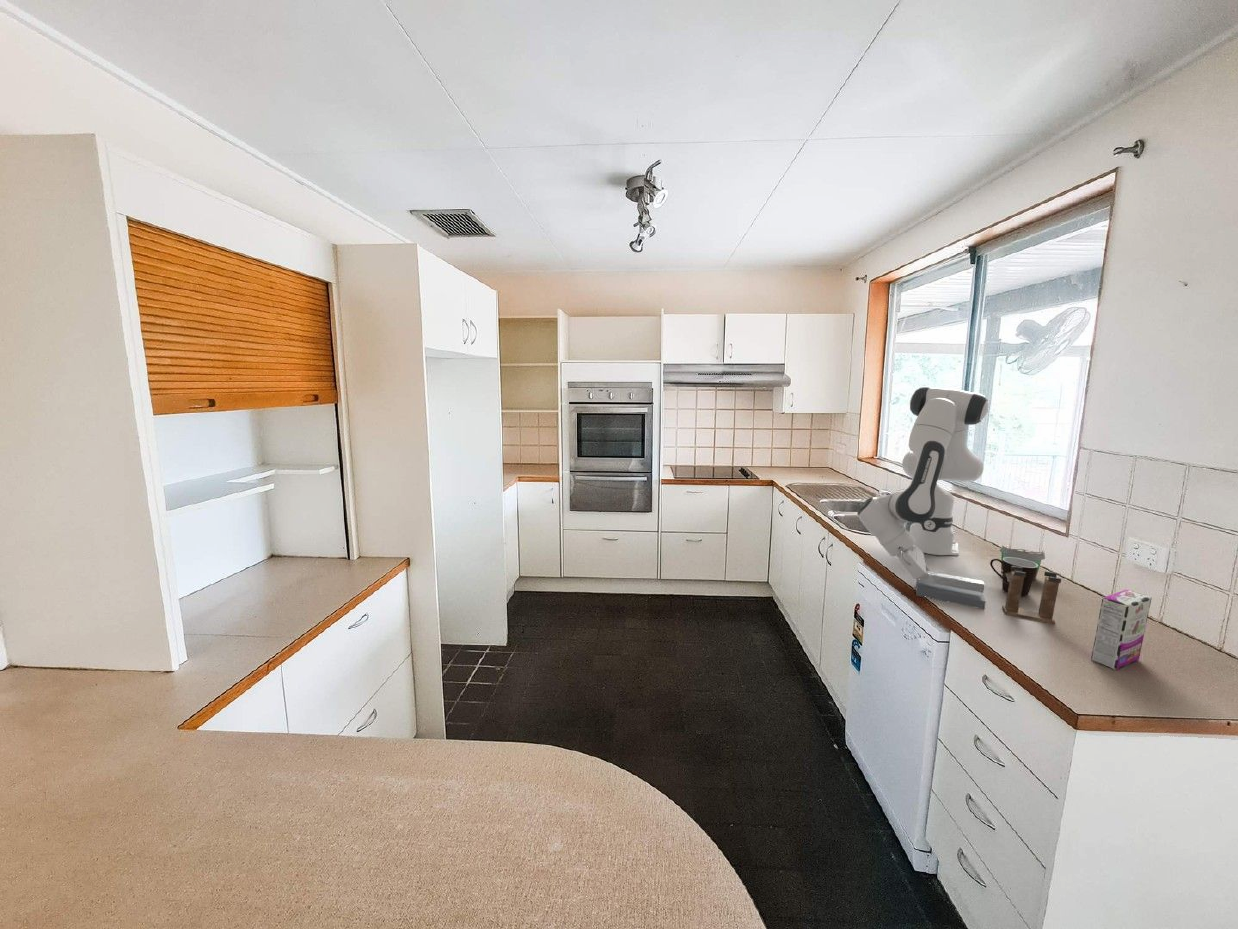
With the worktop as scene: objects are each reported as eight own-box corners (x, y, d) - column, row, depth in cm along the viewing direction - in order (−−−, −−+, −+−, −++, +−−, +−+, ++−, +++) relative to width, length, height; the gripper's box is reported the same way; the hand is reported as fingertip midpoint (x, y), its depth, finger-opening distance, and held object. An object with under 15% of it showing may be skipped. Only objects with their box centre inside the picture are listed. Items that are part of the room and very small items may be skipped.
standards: (1004, 614, 139) (1012, 570, 136) (1001, 607, 143) (1009, 565, 140) (1055, 624, 133) (1063, 579, 131) (1050, 617, 138) (1058, 573, 135)
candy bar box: (1112, 650, 121) (1125, 588, 118) (1139, 660, 117) (1154, 597, 114) (1088, 659, 117) (1101, 596, 114) (1115, 671, 112) (1130, 605, 109)
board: (916, 595, 150) (917, 588, 150) (915, 586, 157) (916, 579, 156) (984, 609, 142) (985, 601, 141) (980, 598, 149) (981, 591, 148)
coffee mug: (1040, 598, 149) (1045, 568, 147) (1011, 598, 149) (1017, 567, 148) (1010, 582, 161) (1015, 554, 159) (984, 582, 161) (989, 553, 159)
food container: (1001, 579, 164) (1006, 550, 162) (995, 572, 169) (1000, 545, 167) (1047, 585, 159) (1052, 556, 157) (1039, 578, 165) (1044, 550, 163)
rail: (919, 580, 151) (920, 573, 151) (919, 577, 154) (920, 569, 153) (983, 592, 143) (984, 584, 143) (981, 589, 146) (982, 580, 146)
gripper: (908, 548, 143) (943, 586, 141) (908, 529, 161) (939, 563, 158) (889, 559, 146) (923, 597, 143) (891, 540, 164) (921, 573, 161)
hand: (931, 579), depth 151 cm, fingers closed on rail, 3 cm apart
